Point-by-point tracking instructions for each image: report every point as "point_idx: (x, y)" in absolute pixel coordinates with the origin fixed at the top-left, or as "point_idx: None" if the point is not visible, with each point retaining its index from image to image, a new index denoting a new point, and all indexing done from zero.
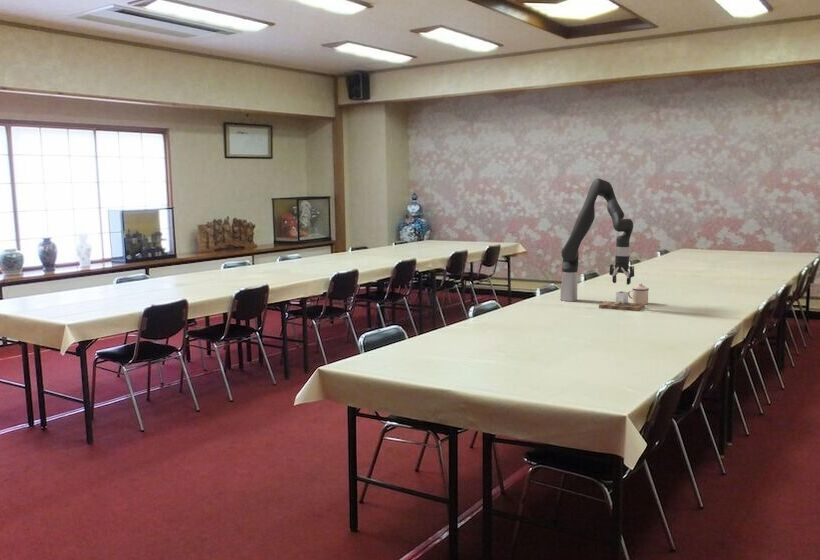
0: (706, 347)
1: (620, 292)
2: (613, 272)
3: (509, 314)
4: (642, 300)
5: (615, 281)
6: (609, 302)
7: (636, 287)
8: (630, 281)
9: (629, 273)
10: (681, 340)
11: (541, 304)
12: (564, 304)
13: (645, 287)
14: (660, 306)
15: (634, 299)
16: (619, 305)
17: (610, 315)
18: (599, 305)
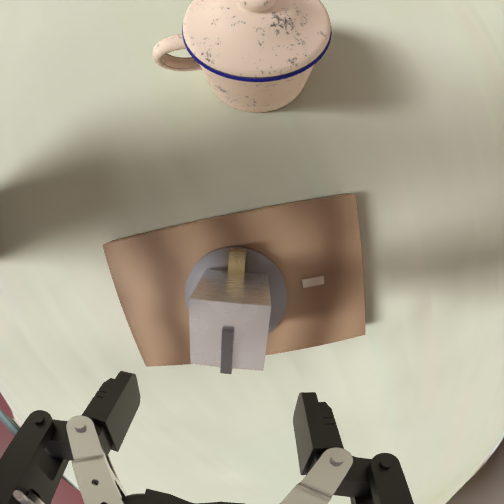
0: (476, 469)
1: (231, 367)
2: (44, 438)
3: None
4: (294, 94)
5: (131, 392)
6: (140, 275)
7: (235, 49)
8: (333, 420)
9: (329, 497)
10: (457, 474)
11: (4, 359)
12: (23, 331)
13: (310, 15)
14: (399, 112)
15: (235, 101)
16: None
17: (285, 447)
18: (149, 363)
